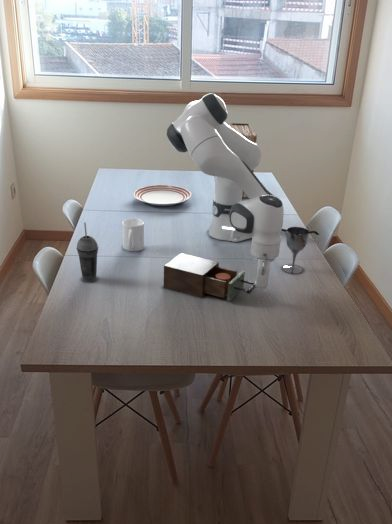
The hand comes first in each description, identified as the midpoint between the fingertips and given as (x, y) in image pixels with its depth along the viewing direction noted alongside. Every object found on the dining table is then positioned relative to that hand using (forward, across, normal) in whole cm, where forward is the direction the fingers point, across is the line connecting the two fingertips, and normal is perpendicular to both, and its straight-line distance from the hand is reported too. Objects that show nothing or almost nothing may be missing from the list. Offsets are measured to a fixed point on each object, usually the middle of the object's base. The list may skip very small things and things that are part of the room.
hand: (260, 288), depth 189 cm
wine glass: (+5, +30, -11) cm, 32 cm away
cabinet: (+5, +8, +24) cm, 26 cm away
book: (+5, +120, +16) cm, 121 cm away
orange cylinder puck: (+3, +4, +13) cm, 14 cm away
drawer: (+4, +4, +11) cm, 13 cm away
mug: (+6, +34, +50) cm, 61 cm away
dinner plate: (+6, +96, +50) cm, 109 cm away
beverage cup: (+6, +5, +59) cm, 60 cm away
